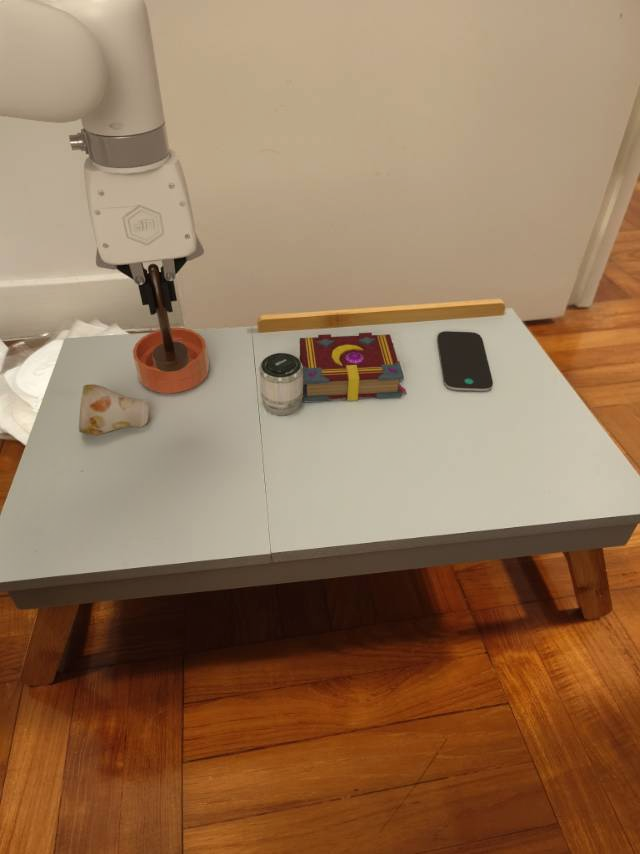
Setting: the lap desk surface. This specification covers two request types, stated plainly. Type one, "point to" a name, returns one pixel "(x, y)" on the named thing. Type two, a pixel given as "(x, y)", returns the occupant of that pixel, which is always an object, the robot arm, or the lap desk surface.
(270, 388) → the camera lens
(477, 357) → the smartphone
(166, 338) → the round knob peg
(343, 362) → the decorative book
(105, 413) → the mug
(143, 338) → the bowl
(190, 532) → the lap desk surface
